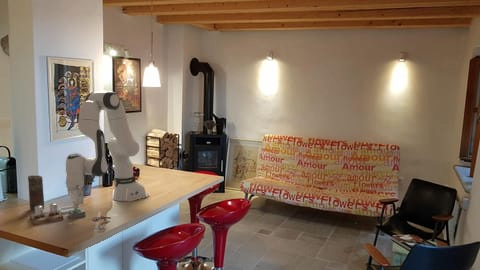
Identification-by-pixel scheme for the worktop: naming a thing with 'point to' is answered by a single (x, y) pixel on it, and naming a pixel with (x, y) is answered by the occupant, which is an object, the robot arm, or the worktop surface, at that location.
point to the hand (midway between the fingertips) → (76, 208)
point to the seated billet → (38, 212)
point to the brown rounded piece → (35, 192)
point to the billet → (53, 209)
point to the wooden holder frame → (46, 218)
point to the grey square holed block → (76, 213)
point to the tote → (66, 209)
